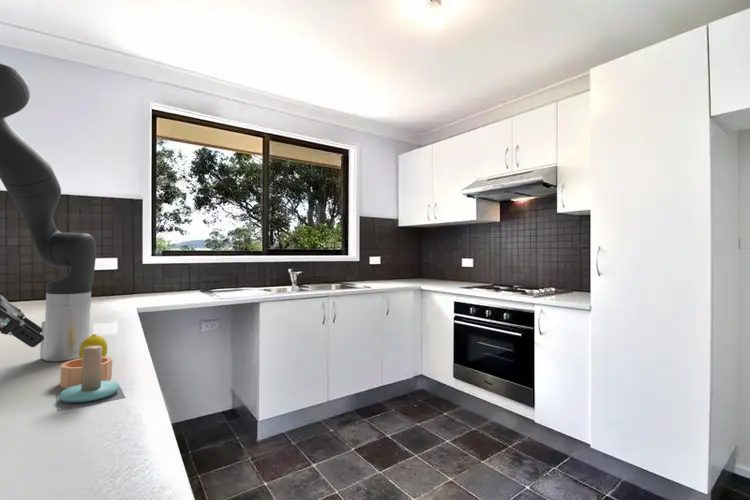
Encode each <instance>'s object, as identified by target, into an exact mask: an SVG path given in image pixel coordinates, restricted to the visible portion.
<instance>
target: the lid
mask: <svg viewBox="0 0 750 500" xmlns="http://www.w3.org/2000/svg"><path fill="white" fill-rule="evenodd" d="M101 368H102V346H89V347H85V348H83V360H82V382H81V384H79V385H75V386H72V387H69V388H64V389H63V390H62V391H61V392H60V393H61V394H60V393H59V394H60V399H61V400H62V401H65V402H84V401H91V400H96V399H100V398H104V397H107V396H109V395H112V394H114V393H116V392H117V391H118V390H119V386H120V383H119V382H118V381H116V380H115V381H114V380H109V381H101Z"/></svg>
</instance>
